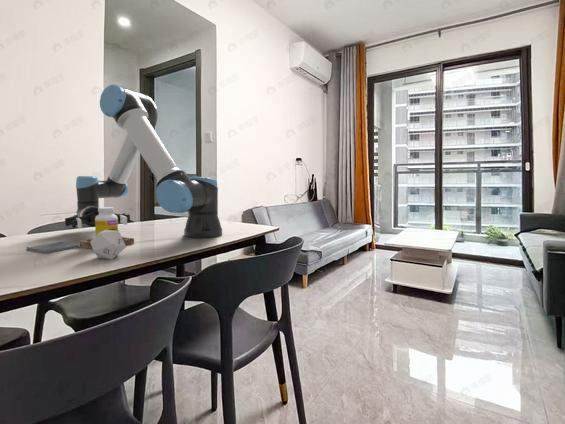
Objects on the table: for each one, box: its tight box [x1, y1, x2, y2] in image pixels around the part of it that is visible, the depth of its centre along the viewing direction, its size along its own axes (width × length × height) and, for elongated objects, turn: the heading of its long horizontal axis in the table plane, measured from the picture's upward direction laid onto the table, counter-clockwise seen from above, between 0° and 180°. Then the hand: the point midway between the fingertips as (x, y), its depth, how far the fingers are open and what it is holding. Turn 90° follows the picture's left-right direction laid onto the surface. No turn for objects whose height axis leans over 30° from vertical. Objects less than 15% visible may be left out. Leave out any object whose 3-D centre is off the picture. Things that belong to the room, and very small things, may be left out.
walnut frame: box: [78, 236, 135, 250], centre depth 105 cm, size 12×12×2 cm
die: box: [90, 230, 127, 260], centre depth 89 cm, size 8×9×10 cm
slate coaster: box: [26, 241, 80, 254], centre depth 99 cm, size 10×10×1 cm
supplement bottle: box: [94, 206, 119, 236], centre depth 104 cm, size 7×7×13 cm
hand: (103, 222), depth 105 cm, fingers open, 13 cm apart
